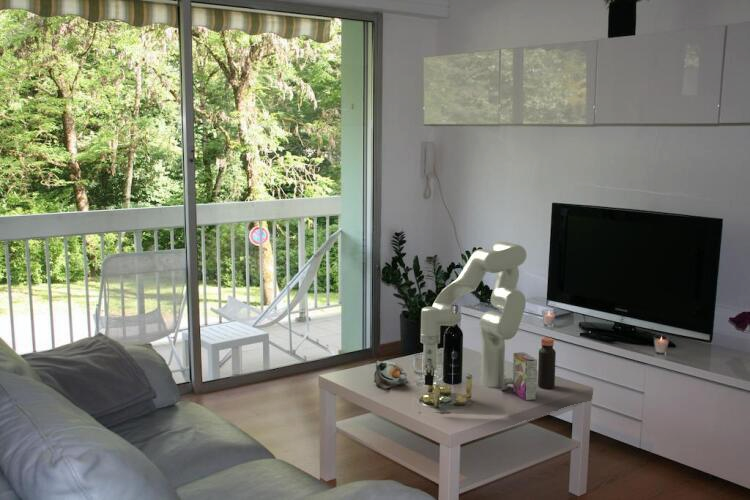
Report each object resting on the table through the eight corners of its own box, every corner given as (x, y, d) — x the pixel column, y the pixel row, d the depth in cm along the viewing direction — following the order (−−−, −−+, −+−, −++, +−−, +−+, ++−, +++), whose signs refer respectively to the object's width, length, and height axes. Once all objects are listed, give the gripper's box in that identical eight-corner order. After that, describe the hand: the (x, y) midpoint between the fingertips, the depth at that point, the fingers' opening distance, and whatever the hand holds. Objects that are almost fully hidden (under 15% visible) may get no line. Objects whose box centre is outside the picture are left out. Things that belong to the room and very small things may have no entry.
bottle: (557, 386, 321) (559, 339, 318) (548, 390, 316) (549, 342, 314) (543, 382, 326) (545, 336, 323) (534, 386, 321) (535, 339, 318)
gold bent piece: (463, 406, 292) (463, 381, 291) (452, 403, 295) (453, 379, 294) (475, 399, 300) (475, 375, 299) (465, 397, 303) (465, 373, 301)
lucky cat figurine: (412, 383, 326) (415, 359, 318) (398, 401, 318) (400, 377, 309) (382, 368, 332) (383, 344, 323) (367, 386, 324) (368, 362, 315)
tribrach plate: (470, 396, 309) (471, 389, 308) (471, 414, 289) (471, 406, 289) (420, 395, 311) (420, 388, 310) (417, 412, 291) (417, 405, 291)
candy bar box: (512, 392, 314) (512, 352, 312) (523, 391, 315) (524, 351, 313) (525, 401, 303) (526, 360, 301) (536, 399, 305) (537, 359, 302)
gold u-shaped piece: (451, 392, 308) (451, 369, 307) (450, 396, 304) (451, 372, 303) (427, 391, 309) (427, 368, 308) (426, 395, 305) (426, 371, 304)
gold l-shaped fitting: (421, 401, 298) (421, 377, 297) (431, 399, 300) (431, 375, 298) (432, 409, 289) (432, 384, 288) (443, 407, 291) (443, 382, 290)
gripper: (439, 344, 295) (438, 388, 297) (440, 333, 312) (439, 375, 314) (419, 343, 296) (418, 387, 298) (421, 333, 313) (420, 374, 315)
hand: (429, 381), depth 306 cm, fingers open, 9 cm apart
